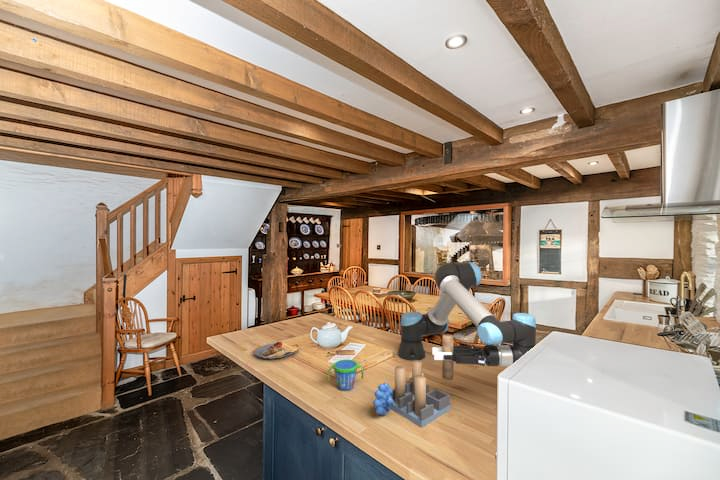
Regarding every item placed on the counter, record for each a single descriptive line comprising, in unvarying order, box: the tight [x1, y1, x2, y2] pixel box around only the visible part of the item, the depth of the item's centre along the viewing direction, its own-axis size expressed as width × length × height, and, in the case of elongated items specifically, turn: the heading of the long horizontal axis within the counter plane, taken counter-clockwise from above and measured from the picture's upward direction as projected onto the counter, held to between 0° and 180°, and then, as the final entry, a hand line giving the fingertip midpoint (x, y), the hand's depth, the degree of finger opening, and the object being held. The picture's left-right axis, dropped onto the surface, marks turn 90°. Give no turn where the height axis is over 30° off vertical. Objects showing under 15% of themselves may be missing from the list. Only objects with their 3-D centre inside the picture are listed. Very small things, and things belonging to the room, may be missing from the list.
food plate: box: [253, 341, 299, 360], centre depth 173 cm, size 25×23×4 cm
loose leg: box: [441, 333, 454, 381], centre depth 114 cm, size 4×4×16 cm
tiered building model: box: [409, 371, 425, 382], centre depth 133 cm, size 10×9×6 cm
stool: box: [390, 360, 452, 428], centre depth 116 cm, size 17×17×15 cm
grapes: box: [372, 382, 394, 417], centre depth 111 cm, size 12×7×12 cm, turn 145°
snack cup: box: [327, 359, 364, 391], centre depth 133 cm, size 16×10×10 cm
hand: (433, 353), depth 115 cm, fingers closed on loose leg, 4 cm apart
